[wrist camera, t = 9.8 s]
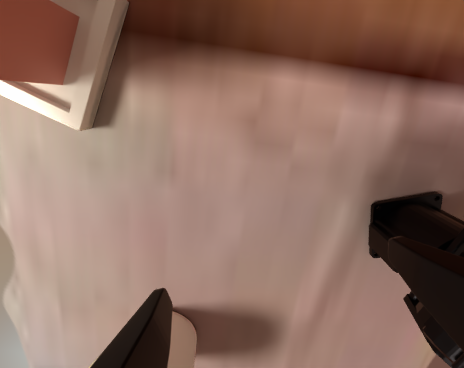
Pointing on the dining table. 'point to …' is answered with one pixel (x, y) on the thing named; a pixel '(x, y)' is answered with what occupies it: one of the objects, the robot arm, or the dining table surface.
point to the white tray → (77, 66)
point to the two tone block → (35, 41)
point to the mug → (181, 343)
